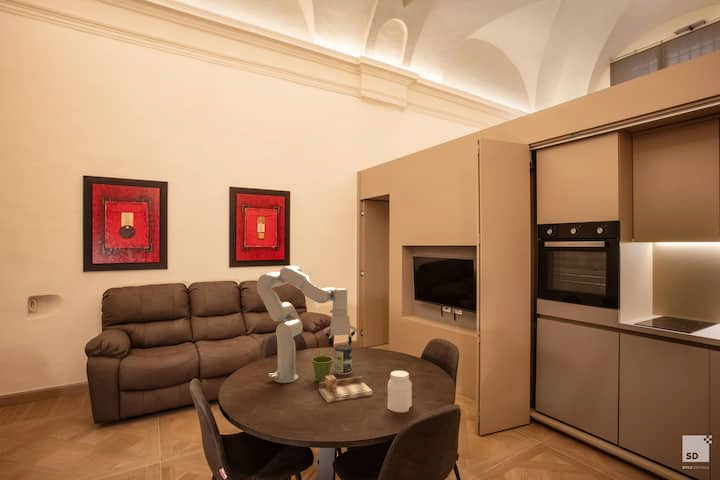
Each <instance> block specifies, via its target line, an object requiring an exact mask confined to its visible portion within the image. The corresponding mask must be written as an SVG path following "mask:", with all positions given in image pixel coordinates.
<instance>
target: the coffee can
mask: <svg viewBox="0 0 720 480" xmlns="http://www.w3.org/2000/svg"><path fill="white" fill-rule="evenodd" d="M334 373H335V374H336V375H337V374H338V375H350V374H351V373H353V346H351V345H349V344H339V345H336V346H334Z"/></svg>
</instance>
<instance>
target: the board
mask: <svg viewBox="0 0 720 480" xmlns="http://www.w3.org/2000/svg"><path fill="white" fill-rule="evenodd" d="M318 382H319V381H318ZM318 392H319V393H320V394H321V395H322V397H323V398H324V400H325V401H326V402H327V403H332V402H337V401H343V400H349V399H350V400H351V399H355V398H361V397H366V396H373V390H372V389H371V388H370V387H369V386H368V385H367V384H366V383H364V381H363V376H361V375H360V376H355V377H348V378H339V379H337V393H336V394H335V393H334V392H328V391H327V390H326V389H325V382H322V381H320V382H319V386H318Z"/></svg>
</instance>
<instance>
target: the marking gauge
mask: <svg viewBox="0 0 720 480" xmlns="http://www.w3.org/2000/svg"><path fill="white" fill-rule="evenodd" d="M337 380H338V379H337V378H336V377H335V376H334V375H333V374H330V375H329V376H325V389H326V390H327V391H328V392H334V393H335V394H336V393H337Z"/></svg>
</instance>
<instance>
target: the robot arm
mask: <svg viewBox="0 0 720 480" xmlns="http://www.w3.org/2000/svg"><path fill="white" fill-rule="evenodd" d="M287 284H289V285H291V286H293V287H295V288H296V289H298V290H299V291H301V292H302V294H303V295H304V296H305V297H306V298H308V299H310V300H312V301H313V302H316V303H318V304H325V303H330V302H332V309H331V310H330V311H329V313H331V317H330V325H329V326H327V327H325V328H324V329H323V332H324V334H325V336H326V337H328V345H329V346H330V347H333V338H332V337H333V336H344V335H345V336H346V335H348V341H347V342H348V344H347V345H349V346H351V344H352V341H353V340H352V339H353V336H354V335H355V334H356V332H357V330H358V328H357V327H355V326H352V325H351V320H350V319H351V318H350V315H349V314H348V290H347V288H345V287H332V286H331V287H330V286H326V287H318V285H317V286H316V285H315V284H313V283H312V282H311V277H310V276H309V275H307V274H305V273H303V272H302V269H301V268H300V267H299V266H297V265H287V266H283V267H281V269H280V270H279V271H273V272H266V273H263V274H262V275H260V276H259V277H258V279H257V282H256V291H257V293H258V295H259V297H260V299H261V300H262V302H263V304H264V307H265V308H266V310H267V312H268V314H269V316H270V318H271V320H273V322H281V321H282V322H281V323H279V324H278V326H277V327H276V330H275V335H276V341H277V343H276V344H277V370H275V372H273V373H270V372H269V373H268V378H271V379H274V381H275V382H276V383H280V384H288V383H289V384H291V383H293V382H296V381H298V380H299V375H298V374H296V342H295V340H294V337H295V336H297V335H299V334H301V333H302V331H303V322H302V320H301V318H300V317H299V314H298V312H297V310H296V309H295V306H294V305H293V304H292V303H290V302H289V301H283V302H282V301H281V300H280V299H281V298H280V297H279V295H278V293H277V292H276V291H275V290H274V289H273V288H278V287H282V286H284V285H287ZM329 330H330V333H329V332H328V331H329ZM351 330H352V332H351Z"/></svg>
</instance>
